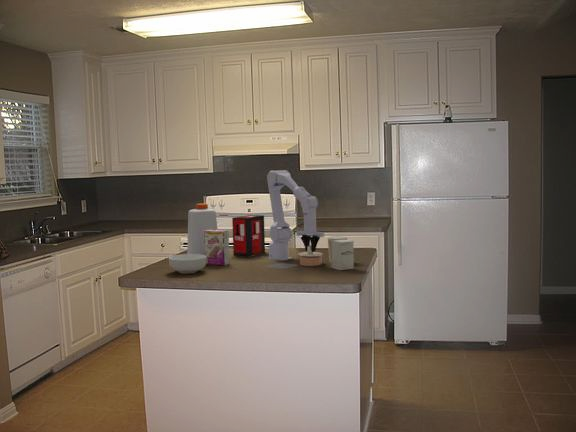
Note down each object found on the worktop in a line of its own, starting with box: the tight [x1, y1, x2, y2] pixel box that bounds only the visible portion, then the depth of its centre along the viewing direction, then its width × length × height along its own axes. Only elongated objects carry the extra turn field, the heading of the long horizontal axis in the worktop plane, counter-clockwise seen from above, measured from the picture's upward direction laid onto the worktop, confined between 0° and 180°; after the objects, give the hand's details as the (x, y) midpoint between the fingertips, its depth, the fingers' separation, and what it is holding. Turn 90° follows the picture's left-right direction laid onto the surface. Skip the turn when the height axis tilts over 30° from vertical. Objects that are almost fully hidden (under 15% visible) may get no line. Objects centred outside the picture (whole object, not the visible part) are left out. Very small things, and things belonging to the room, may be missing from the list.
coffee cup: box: [326, 235, 348, 264], centre depth 272 cm, size 9×9×12 cm
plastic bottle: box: [186, 203, 219, 255], centre depth 292 cm, size 15×15×28 cm
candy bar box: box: [204, 229, 230, 266], centre depth 275 cm, size 11×5×16 cm, turn 65°
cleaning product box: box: [231, 214, 266, 258], centre depth 303 cm, size 16×9×20 cm, turn 150°
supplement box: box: [331, 239, 355, 271], centre depth 257 cm, size 7×7×13 cm
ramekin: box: [299, 255, 323, 267], centre depth 269 cm, size 10×10×4 cm
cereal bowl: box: [168, 253, 207, 275], centre depth 258 cm, size 17×17×7 cm
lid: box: [297, 245, 324, 257], centre depth 268 cm, size 12×12×4 cm
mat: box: [263, 262, 299, 270], centre depth 265 cm, size 12×12×1 cm
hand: (310, 251), depth 268 cm, fingers closed on lid, 3 cm apart
